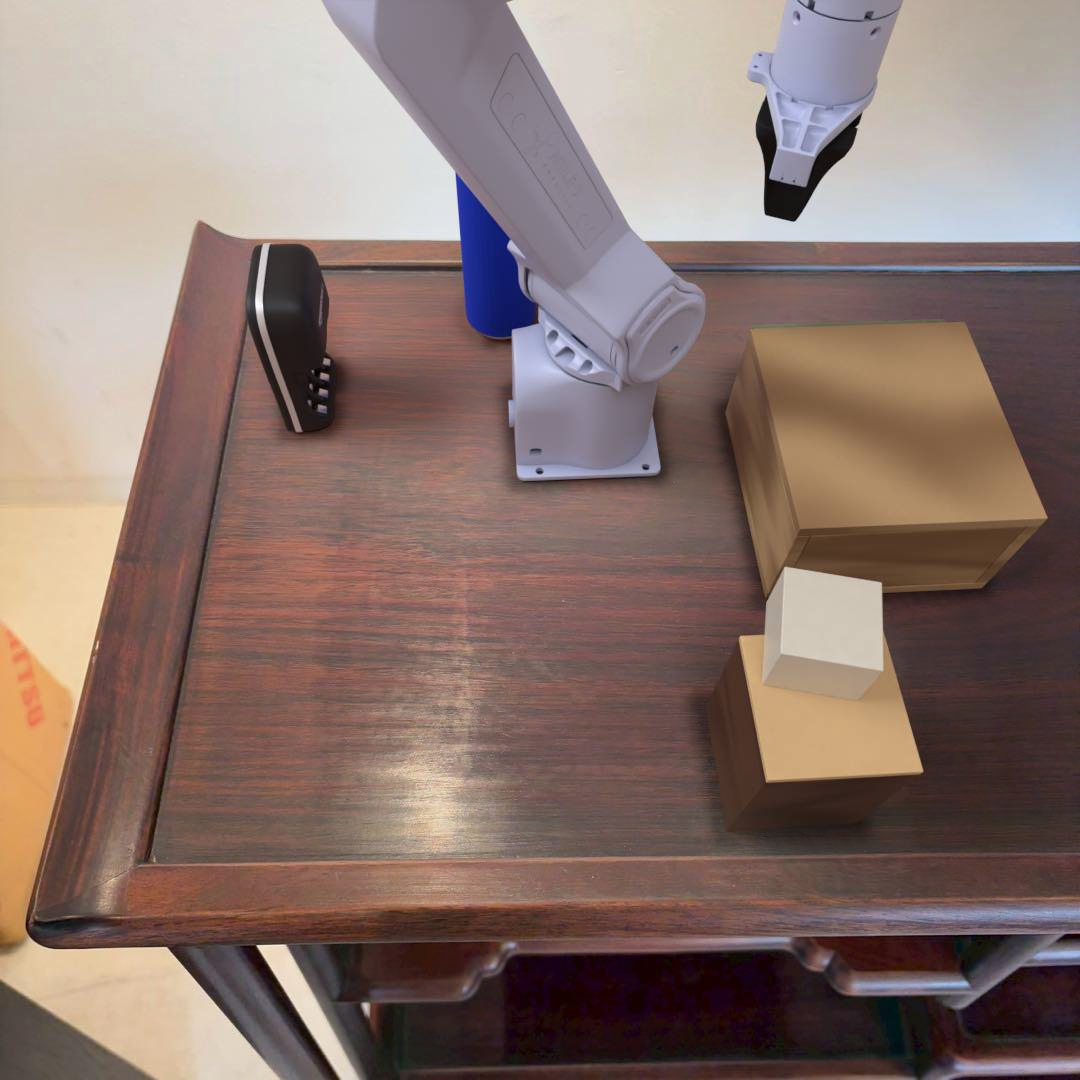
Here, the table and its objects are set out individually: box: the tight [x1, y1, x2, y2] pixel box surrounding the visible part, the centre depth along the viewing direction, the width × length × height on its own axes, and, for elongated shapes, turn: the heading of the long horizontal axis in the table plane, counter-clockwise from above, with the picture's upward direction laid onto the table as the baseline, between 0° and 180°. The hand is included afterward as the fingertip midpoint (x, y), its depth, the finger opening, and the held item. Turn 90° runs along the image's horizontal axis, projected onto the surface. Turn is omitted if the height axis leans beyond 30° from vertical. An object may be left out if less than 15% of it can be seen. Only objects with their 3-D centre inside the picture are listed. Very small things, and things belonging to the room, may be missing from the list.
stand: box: [705, 639, 921, 832], centre depth 45 cm, size 7×7×9 cm
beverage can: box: [454, 171, 537, 340], centre depth 60 cm, size 5×5×15 cm
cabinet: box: [724, 321, 1049, 599], centre depth 55 cm, size 15×14×8 cm
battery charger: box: [245, 242, 337, 433], centre depth 57 cm, size 7×4×11 cm, turn 4°
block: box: [762, 567, 884, 701], centre depth 41 cm, size 4×4×4 cm
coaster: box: [738, 630, 924, 783], centre depth 41 cm, size 7×7×1 cm
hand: (781, 212), depth 57 cm, fingers closed
